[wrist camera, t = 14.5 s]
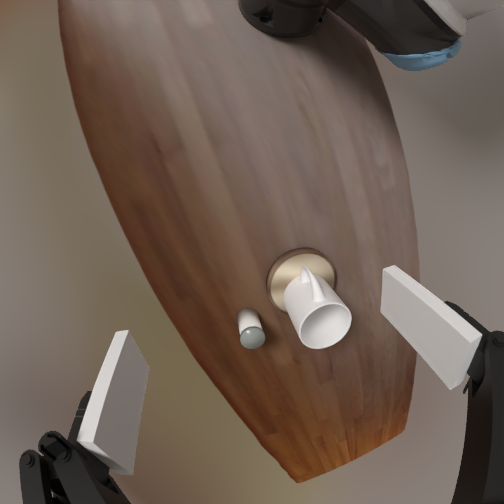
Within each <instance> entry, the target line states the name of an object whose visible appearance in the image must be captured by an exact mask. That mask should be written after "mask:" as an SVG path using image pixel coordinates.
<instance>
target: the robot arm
mask: <svg viewBox="0 0 504 504" xmlns="http://www.w3.org/2000/svg"><path fill="white" fill-rule="evenodd" d="M238 3H239V8H240V11H241V13H242V15H243V16H244V18H245V19H246V20H247V21H248V22H249V23H250V24H252V25H253V26H254V27H256V28H257V29H259V30H261V31H263V32H265V33H268V34H271V35H274V36H279V37H286V38H295V37H302V36H305V35H308V34H310V33H312V32H314V31H315V30H316V29H317V28H318V27H319V26H320V25H321V24H322V23H323V22H324V20H325V18H326V16H327V11H328V9H330V10H331V11H333V12H334V13H335V14H336V15H338V16H339V17H340V18H342V19H343V20H344V21H346V22H347V23H348V24H349V25H351V26H352V27H353V28H354V29H355V30H357V31H358V32H359V33H360V34H361V35H363V36H364V37H365V38H366V39H367V40H368V41H369V42H370V43H372V44H373V45H374V46H375V49H376V50H377V51H378V52H380V53H381V54H383V55H385V56H386V57H387V58H388V59H389V60H390V61H391V62H392V63H393V64H394V65H396V66H397V67H399V68H402V69H404V70H408V71H421V70H426V69H430V68H433V67H436V66H439V65H441V64H443V63H445V62H446V61H447V59H448V58H452V57H454V56H455V55H456V54H457V53H458V52H459V50H460V48H461V41H460V37H462V36H464V35H466V30H467V22H468V20H470V19H472V18H475V17H477V16H480V15H482V14H485V13H487V12H490V11H493V10H496V9H499V8H501V7H504V0H239V1H238ZM381 313H382V314H383V315H384V316H385V317H386V318H387V319H388V320H389V321H390V323H391V324H392V325H393V326H394V327H395V328H396V329H397V330H398V331H399V332H400V333H401V334H402V336H403V337H404V338H405V339H406V340H407V341H408V342H409V343H410V344H411V345H412V347H413V348H414V349H415V350H416V351H417V352H418V353H419V354H420V356H421V357H422V358H423V359H424V360H425V361H426V362H427V364H428V365H429V366H430V367H431V368H432V369H433V371H434V372H435V373H436V374H437V375H438V376H439V378H440V379H441V380H442V381H443V382H444V383H445V384H446V386H447V387H448V388H449V389H450V390H451V389H453V388H455V387H456V386H457V385H459V384H460V383H462V382H463V379H464V377H465V375H466V373H467V374H468V375H469V376H470V378H469V380H468V382H467V384H466V386H465V388H464V391H463V394H465V392H466V390H467V389H468V409H467V423H466V433H465V442H464V448H463V455H462V460H461V466H460V471H459V476H458V480H457V484H456V488H455V492H454V496H453V499H452V503H451V504H504V332H502V331H493V332H489V331H488V330H487V329H486V328H484V327H483V326H482V325H481V324H480V323H478V322H477V321H476V320H475V319H474V318H472V317H471V316H469V314H467V313H466V312H464V311H463V310H462V309H461V308H460V307H459V306H457V305H456V304H453V303H451V302H448V301H446V302H442V301H441V300H440V299H439V298H437V297H436V296H435V295H434V294H432V293H431V292H430V291H428V290H427V289H426V288H424V287H423V286H422V285H421V284H419V283H418V282H417V281H415V280H414V279H413V278H411V277H410V276H409V275H407V274H406V273H404V272H403V271H402V270H400V269H399V268H398V267H396V266H395V265H393V266H390V267H387V268H384V269H383V280H382V299H381ZM149 371H150V368H149V366H148V365H147V363H146V361H145V360H144V358H143V356H142V354H141V352H140V350H139V348H138V347H137V345H136V343H135V341H134V339H133V337H132V335H131V333H130V331H129V330H126V331H119V332H116V334H115V336H114V338H113V341H112V343H111V345H110V348H109V350H108V353H107V355H106V358H105V360H104V363H103V365H102V368H101V370H100V373H99V375H98V378H97V381H96V383H95V386H94V389H93V391H88V392H87V393H86V394H85V395H84V397H83V398H82V399H81V401H80V404H79V407H78V410H77V413H76V417H75V419H74V421H73V424H72V428H71V430H70V433H69V437H68V440H66V439H65V438H64V437H63V436H62V435H61V434H60V433H58V432H56V431H49V432H47V433H45V434H44V435H43V436H42V438H41V439H40V441H39V444H38V449H39V451H40V452H41V453H42V454H43V455H44V456H41V455H40V454H38V453H37V452H36V451H34V450H27V451H25V452H24V453H23V454H22V455H21V458H20V462H19V467H20V481H21V491H22V498H23V504H131V503H130V502H129V501H128V499H127V498H126V496H125V495H124V494H123V492H122V491H121V490H120V488H119V487H118V485H117V484H116V482H115V481H114V479H113V478H112V477H111V476H110V475H109V468H110V469H111V470H113V471H114V472H115V473H117V474H123V475H133V470H134V462H135V454H136V446H137V438H138V432H139V426H140V420H141V414H142V407H143V402H144V396H145V391H146V386H147V381H148V376H149ZM51 492H53V497H52V493H51Z"/></svg>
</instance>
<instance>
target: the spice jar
mask: <svg viewBox="0 0 504 504" xmlns="http://www.w3.org/2000/svg"><path fill="white" fill-rule="evenodd" d="M237 319H238V325H239V331H240V340H241V344H242V345H243V346H244V347H246V348H249V349H254V348H258V347H260V346H261V345H262V344H263V343H264V341H265V335H264V332H263V330H262V326H261V323H260V320H259V316H258V313H257V311H256V310H254V309H252V308H246V309H243V310H241V311H240V312H239V313H238V316H237Z"/></svg>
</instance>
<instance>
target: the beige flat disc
mask: <svg viewBox="0 0 504 504" xmlns="http://www.w3.org/2000/svg"><path fill="white" fill-rule="evenodd" d="M303 266H307V267H308V268H309V269H310V271H311V272H312V273H313V274H315V275H318V276H320V277H321V278H323V279H324V280H325V281H326V282H327V283H328V285H329V286H330V287H331V288H332V289H334V287H335V282H336V273H335V269H334V266H333V264H332V263H331V261H330V260H329V259H328V258H327V257H326V256H325V255H324V254H323V253H322V252H320V251H318V250H316V249H312V248H296V249H293V250H290V251H288V252H286V253H284V254H283V255H282V256H280V257H279V258H278V259H277V260H276V261H275V262H274V263H273V265H272V266H271V268H270V270H269V272H268V275H267V279H266V289H267V293H268V296H269V298H270V300H271V302H272V304H273V305H274V306H275V307H276V308H277V309H278V310H280V311H282V312H284V313H287V314H288V312H287V310H286V307H285V305H284V292H285V289H286V288H287V286H288V284H289V283H290V282H291V281H292V280H293V279H295V278H296V277H298V276H300V271H301V268H302V267H303Z"/></svg>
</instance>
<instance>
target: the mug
mask: <svg viewBox="0 0 504 504" xmlns="http://www.w3.org/2000/svg"><path fill="white" fill-rule="evenodd" d="M284 305H285V307H286V310H287V312H288V314H289V316H290V318H291V320H292V323H293V325H294V327H295V329H296V331H297V333H298V336H299V338H300V340H301V341H302V343H303V344H304V345H306V346H307V347H310V348H313V349H322V348H326V347H329V346H332V345H334V344H335V343H337V342H338V341H340V340H341V339H342V338H343V337H344V336H345V334H346V333H347V332H348V330H349V328H350V325H351V313H350V311H349V309H348V308H347V307H346V305H345V304H344V303H343V302H342V300H341V299H340V298H339V297H338V296H337V294H336V293H335V292H334V291H333V289H332V288H331V287H330V286H329V285H328V283H327V282H326V281H325V280H324V279H323V278H321V277H320V276H318V275H315V274H313V273H312V272H311V271H310V269H309V268H308V267H307V266H303V267H302V268H301V271H300V276H298V277H296V278H295V279H293V280H292V281H291V282H290V283H289V284H288V286H287V288H286V289H285V292H284Z"/></svg>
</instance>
